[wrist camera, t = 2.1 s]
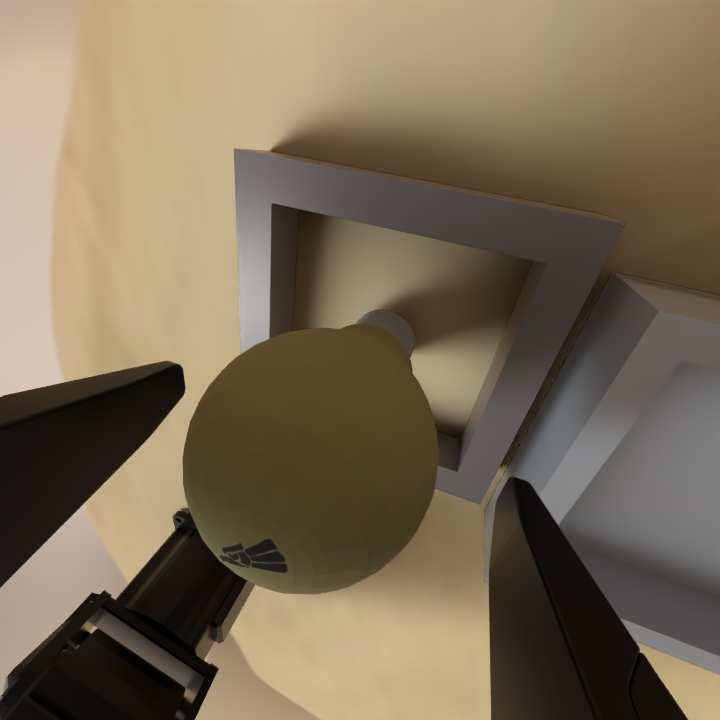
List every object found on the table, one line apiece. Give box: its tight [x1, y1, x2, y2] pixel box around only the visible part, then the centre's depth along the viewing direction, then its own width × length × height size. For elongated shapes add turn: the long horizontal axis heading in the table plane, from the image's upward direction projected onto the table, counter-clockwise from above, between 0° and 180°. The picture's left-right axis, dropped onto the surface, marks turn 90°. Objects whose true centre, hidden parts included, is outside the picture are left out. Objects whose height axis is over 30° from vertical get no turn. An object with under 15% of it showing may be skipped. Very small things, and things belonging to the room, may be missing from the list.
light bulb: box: [183, 310, 439, 594], centre depth 10 cm, size 6×6×10 cm
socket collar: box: [234, 149, 625, 504], centre depth 13 cm, size 11×11×2 cm
